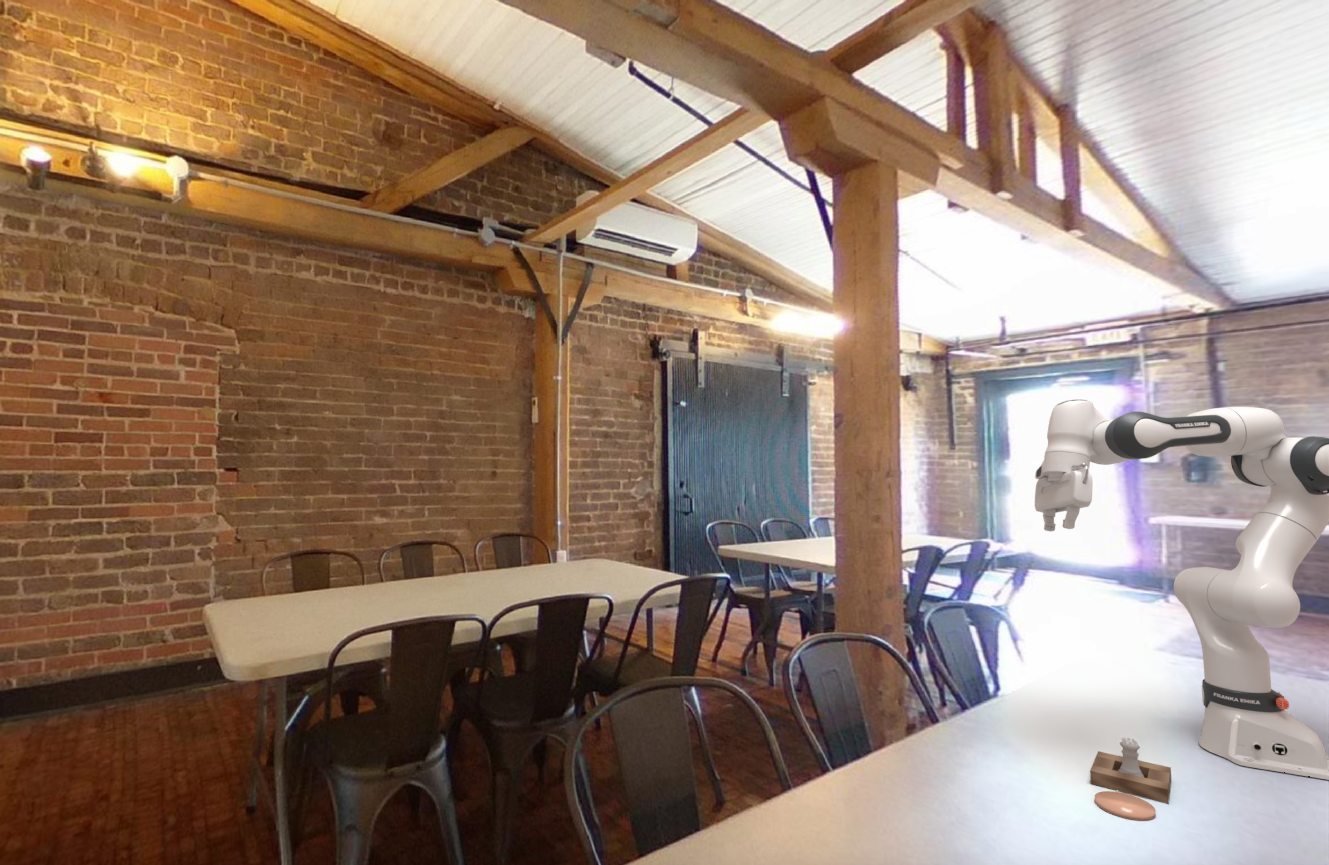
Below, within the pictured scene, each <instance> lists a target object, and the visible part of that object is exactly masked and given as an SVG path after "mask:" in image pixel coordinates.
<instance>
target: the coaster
mask: <svg viewBox="0 0 1329 865" xmlns="http://www.w3.org/2000/svg"><path fill="white" fill-rule="evenodd" d="M1094 803H1095V805H1096V804H1097V805H1096V806H1097V807H1098V806H1099V807H1098V808H1099V809H1101V808H1102V809H1101V810H1103V811H1104V810H1105V812H1106V813H1108V812H1109V813H1108V814H1111V815H1112V816H1116V817H1120V818H1123V819H1127V820H1131V821H1141V822H1143V821H1151V820H1154V819H1155V818H1156V816H1157V813H1156V812H1157V811H1156V807H1154V806H1153V805H1152V803H1150V802H1149V801H1146V800H1145V799H1143V798H1140V797H1139V796H1136V795H1132V794H1128V793H1124V792H1120V791H1113V790H1110V791H1109V790H1108V791H1107V790H1106V791H1103V790H1102V791H1098V792H1097V793H1095V794H1094Z"/></svg>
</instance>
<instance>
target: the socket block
mask: <svg viewBox="0 0 1329 865" xmlns="http://www.w3.org/2000/svg"><path fill="white" fill-rule="evenodd" d="M1122 759H1123V755H1122V756H1121V755H1117V754H1113V753H1107V752H1104V751H1097V753H1096V755H1095V757H1094V761H1093V763H1092V765H1091V767H1090V770H1089V771H1090V772H1089V777H1090V778H1089V779H1090V784H1091V785H1094V786H1097V785H1100V786H1099V787H1101V786H1103V787H1102V788H1105V789H1109V788H1110V790H1112V791H1113V790H1114V791H1116V790H1118V791H1117V792H1120V793H1125V794H1129V795H1132V796H1135V797H1139V798H1140V797H1141V798H1144V799H1148V800H1154V801H1157V802H1161V803H1164V804H1169V802H1170V793H1171V787H1172V786H1171V785H1172V767H1171V766H1167V765H1161V764H1158V763H1152V762H1148V761H1143V760H1139V759H1138V764H1139V768H1140V770H1141V773H1142V774H1143V775H1144V777H1140V776H1136V775H1132V774H1127V773H1123V772H1119V771H1118V770H1119V769H1120V766H1121V765H1122Z"/></svg>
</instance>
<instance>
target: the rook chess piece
mask: <svg viewBox="0 0 1329 865" xmlns="http://www.w3.org/2000/svg"><path fill="white" fill-rule="evenodd" d="M1119 745H1120V746H1121V748H1122V750H1121V754H1122V757H1123V759H1122V765H1121V766H1120V769H1119V770H1118V771H1119V772H1123V773H1127V774H1132V775H1136V776H1140V777H1144V775H1143V774H1142V773H1141V770H1140V768H1139V764H1138V760H1139V753H1138V750H1140V748H1141V747H1140V745H1139V744H1138V741H1137V740H1136V739H1134V738H1133V739H1131V738H1130V737H1127V738H1125V737H1122V738H1121V741H1119Z"/></svg>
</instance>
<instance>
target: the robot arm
mask: <svg viewBox="0 0 1329 865" xmlns="http://www.w3.org/2000/svg"><path fill="white" fill-rule="evenodd" d="M1048 421H1049V422H1048V426H1047V432H1046V433H1047V435H1046V437H1047V438H1046V439H1047V447H1046V450H1045V452H1044V455H1043V456H1044V457H1043V458H1044V459H1043V461H1042V463H1041V464H1040V465H1039V467H1038V468H1037V469H1036V471H1035V475H1034V478H1035V479H1036V480H1037V482H1036V484H1035V492H1034V509H1035V510H1036V512H1039V513H1042V518H1043V523H1044V526H1043V530H1044V531H1045V532H1055V530H1056V525H1057V524H1056V523H1055V517H1056V513H1061V512H1066V514H1065V517H1064V519H1063V520H1062V528H1064V529H1067V530H1073V529H1075V524H1076V521H1077V518H1078V516H1079V514H1080V510H1081V509H1082V508H1083V509H1084V508H1088V507H1089V506H1090V505H1091V503H1092V501H1093V476H1092V474H1091V473H1090V463H1094V464H1097V465H1104V466H1107V465H1108V466H1109V465H1115V464H1120V463H1126V462H1128V461H1133V460H1144V459H1149V458H1152V457H1155V456H1156V455H1158V454H1159V453H1161V452H1163V451H1165V450H1167V449H1168V448H1175V447H1176V448H1179V447H1185V448H1186V449H1187V450H1188V451H1189V452H1190V453H1192V454H1193V455H1195V456H1199V457H1207V458H1208V457H1209V458H1210V457H1211V458H1212V457H1213V458H1215V457H1216V458H1219V457H1222V458H1223V457H1230V465H1231V467H1232V468H1231V469H1232V471H1233V473H1234V475H1235V476H1236V478H1237V479H1238V480H1240V481H1241V482H1243V483H1245V484H1248V485H1250V486H1251V485H1252V486H1254V487H1255V486H1256V487H1262V488H1263V487H1270V494H1269V497H1268V500H1267V501H1266V503H1264V505H1263V506H1261V508H1260V509H1259V510H1258V511H1257V512H1256V513H1255V515H1254V516H1253V517H1252V518H1251V520H1250V521H1249V522H1248V524H1247V525H1246V526H1245V528H1244V529H1243V530H1242V531H1241V532H1240V534H1239V535H1238V536H1237V537H1236V540H1235V547H1236V550H1237V552H1238V553H1239V555H1240V560H1239V562H1238V564H1237V565H1236V567H1235V568H1233V569H1231V570H1230V569H1224V568H1217V567H1211V566H1202V567H1201V566H1199V567H1197V566H1196V567H1189V568H1185V569H1184V570H1183V569H1182V570H1181V571H1180V572H1179V573H1178V574H1177V575H1176V577H1175V578H1174V581H1173V591H1174V595H1175V598H1176V599H1177V600H1178V602H1180V604H1182V605H1183V607H1184V608H1185V609H1186V611H1187V612H1188V613H1189V615H1190V618H1191V619H1192V623H1193V624H1194V626H1195V628H1196V631H1197V634H1198V638H1199V641H1200V645H1201V650H1202V651H1201V652H1202V659H1203V660H1202V662H1203V676H1204V678H1203V680H1202V682H1201V683H1202V684H1201V697H1202V699H1201V700H1202V703H1203V706H1204V714H1203V715H1204V716H1203V721H1202V722H1203V724H1202V729H1201V733H1200V737H1199V740H1198V745H1199V746H1200V747H1202V748H1203V749H1205V750H1206V751H1207V752H1210V753H1212V754H1215V755H1216V756H1219V757H1222V758H1225V759H1227V760H1229V761H1230V762H1232V763H1234V764H1236V765H1239V766H1243V767H1248V768H1253V769H1254V768H1255V769H1260V770H1266V771H1273V772H1279V773H1284V772H1285V774H1290V775H1296V776H1304V777H1308V776H1310V778H1314V779H1322V780H1326V781H1329V756H1328V755H1327V753H1326V749H1325V746H1324V744H1323V742H1322V740H1321V738H1320V737H1319V735H1318V734H1317V733H1316V732H1315V731H1314V730H1312V729H1311V728H1310V727H1308V726H1307V725H1306V724H1304V723H1303V722H1302V721H1300V720H1299V719H1298V718H1297V717H1295V716H1294V715H1293V714H1291V713H1289V712H1288V711H1286V710H1288V708H1290V703H1289V701H1288V699H1286V697H1285V696H1283V695H1282V694H1281V693H1280V691H1278V692H1277V691H1275V690H1274V689H1272V680H1271V679H1272V678H1271V665H1270V664H1271V663H1270V656H1269V653H1268V651H1267V650H1266V648H1265V647H1264V646H1263V645H1262V644H1261V643H1260V642H1259V641H1258V640H1257V639H1256V637H1255V636H1254V634H1253V632H1252V630H1251V628H1250V627H1254V628H1261V629H1263V628H1264V629H1266V628H1267V629H1278V628H1279V629H1282V628H1287V627H1288V626H1290V625H1292V624H1293V623H1295V621H1296V620H1297V619H1298V617H1299V614H1300V611H1301V602H1300V598H1299V596H1298V594H1297V592H1296V591H1295V590H1294V587H1293V582H1294V577H1295V574H1296V572H1297V569H1298V567H1299V566H1300V564H1301V563H1302V561H1304V559H1305V557H1306V556H1307V555H1308V553H1309V551H1311V549H1312V548H1313V547H1314V545H1315V544H1316V543H1317V541H1318V540H1319V538H1320V537H1321V536H1322V534H1323V533H1324V532H1325V530H1326V528H1327V526H1328V524H1329V495H1328V494H1329V438H1328V437H1324V436H1313V435H1312V436H1307V437H1303V436H1301V437H1300V436H1299V437H1297V436H1296V437H1295V436H1294V437H1287V435H1285V426H1284V422H1283V420H1282V418H1281V417H1280V415H1278V414H1277V413H1276V412H1275V411H1273V410H1271V409H1268V408H1265V407H1264V408H1263V407H1256V406H1255V407H1253V406H1229V407H1228V406H1225V407H1216V408H1208V409H1203V410H1200V411H1196V412H1193V413H1190V414H1188V415H1186V416H1180V417H1179V416H1178V417H1177V416H1175V417H1164V416H1159V415H1154V414H1153V413H1148V412H1144V411H1129V412H1127V413H1125V414H1123V415H1120V416H1118V417H1116V418H1113V419H1111V418H1109V417H1107V416H1105V415H1104V414H1102V413H1101V412H1100V411H1099V410H1098V409H1097V408H1096V407H1095V406H1094V404H1093V402H1092V401H1090V400H1088V399H1070V400H1065V401H1062V402H1060V403H1057V404H1056V405H1055V406H1054V407H1053V408H1052V411H1051V414H1050V417H1049V420H1048Z"/></svg>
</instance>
